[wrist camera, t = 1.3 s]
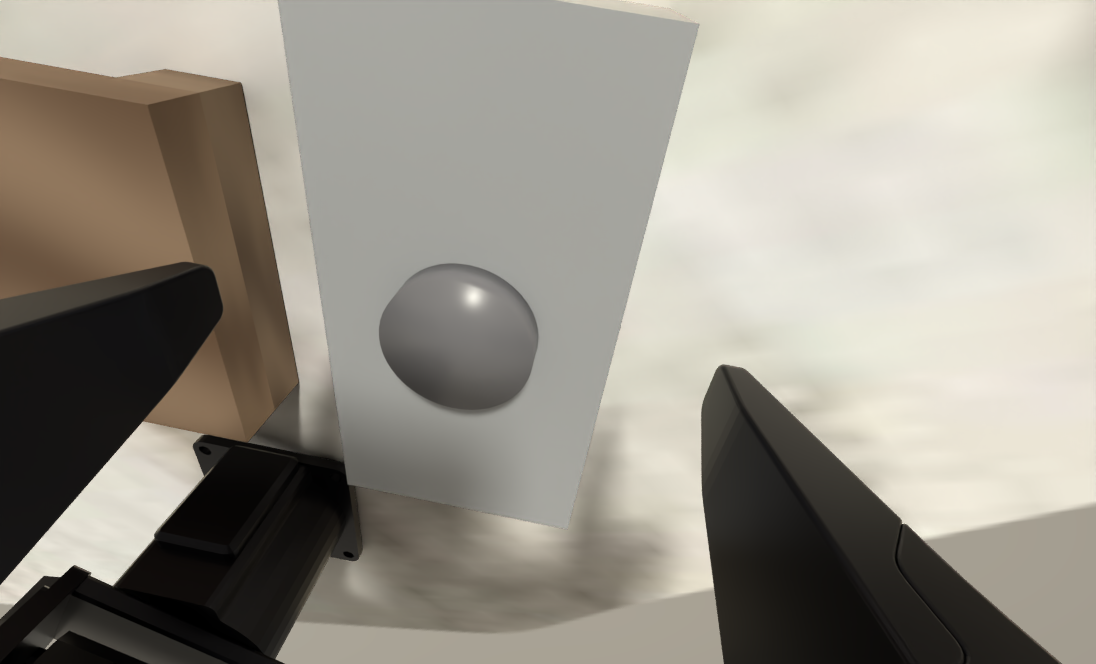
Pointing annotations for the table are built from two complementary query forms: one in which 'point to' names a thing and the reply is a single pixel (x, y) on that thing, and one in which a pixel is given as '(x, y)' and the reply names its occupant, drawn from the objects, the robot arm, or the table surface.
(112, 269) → the walnut stand
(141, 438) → the table surface
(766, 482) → the robot arm
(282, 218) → the table surface
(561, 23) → the block
